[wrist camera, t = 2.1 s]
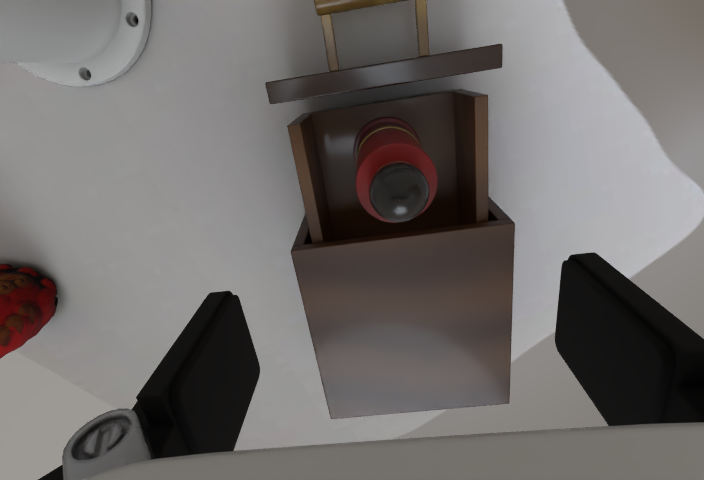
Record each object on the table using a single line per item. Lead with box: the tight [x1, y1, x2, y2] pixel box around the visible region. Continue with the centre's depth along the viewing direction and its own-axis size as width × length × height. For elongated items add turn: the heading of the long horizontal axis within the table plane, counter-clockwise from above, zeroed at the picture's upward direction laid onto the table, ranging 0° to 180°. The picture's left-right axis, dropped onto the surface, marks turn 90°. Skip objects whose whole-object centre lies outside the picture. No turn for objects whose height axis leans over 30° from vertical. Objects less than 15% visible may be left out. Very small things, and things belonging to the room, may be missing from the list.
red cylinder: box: [353, 117, 438, 223], centre depth 23 cm, size 5×5×12 cm
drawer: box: [266, 0, 502, 244], centre depth 26 cm, size 19×13×7 cm
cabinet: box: [291, 196, 515, 419], centre depth 31 cm, size 16×14×9 cm
